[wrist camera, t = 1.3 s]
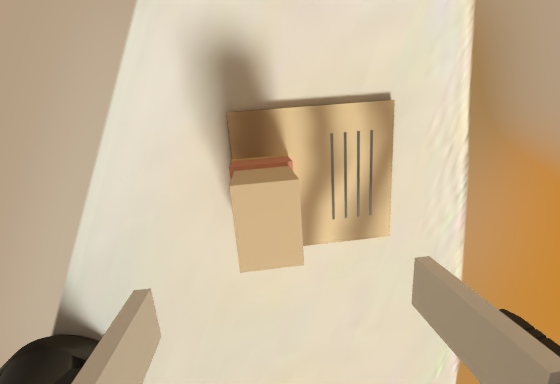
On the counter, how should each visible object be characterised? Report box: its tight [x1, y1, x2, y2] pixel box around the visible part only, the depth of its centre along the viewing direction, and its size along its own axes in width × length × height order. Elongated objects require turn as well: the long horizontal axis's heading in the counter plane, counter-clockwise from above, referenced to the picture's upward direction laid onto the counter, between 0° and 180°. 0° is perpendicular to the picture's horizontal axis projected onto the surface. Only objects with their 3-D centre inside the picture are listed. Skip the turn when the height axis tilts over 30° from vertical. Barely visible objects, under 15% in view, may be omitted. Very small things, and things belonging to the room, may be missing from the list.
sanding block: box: [229, 155, 304, 273], centre depth 26 cm, size 6×8×10 cm
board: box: [226, 100, 394, 246], centre depth 31 cm, size 18×16×1 cm
